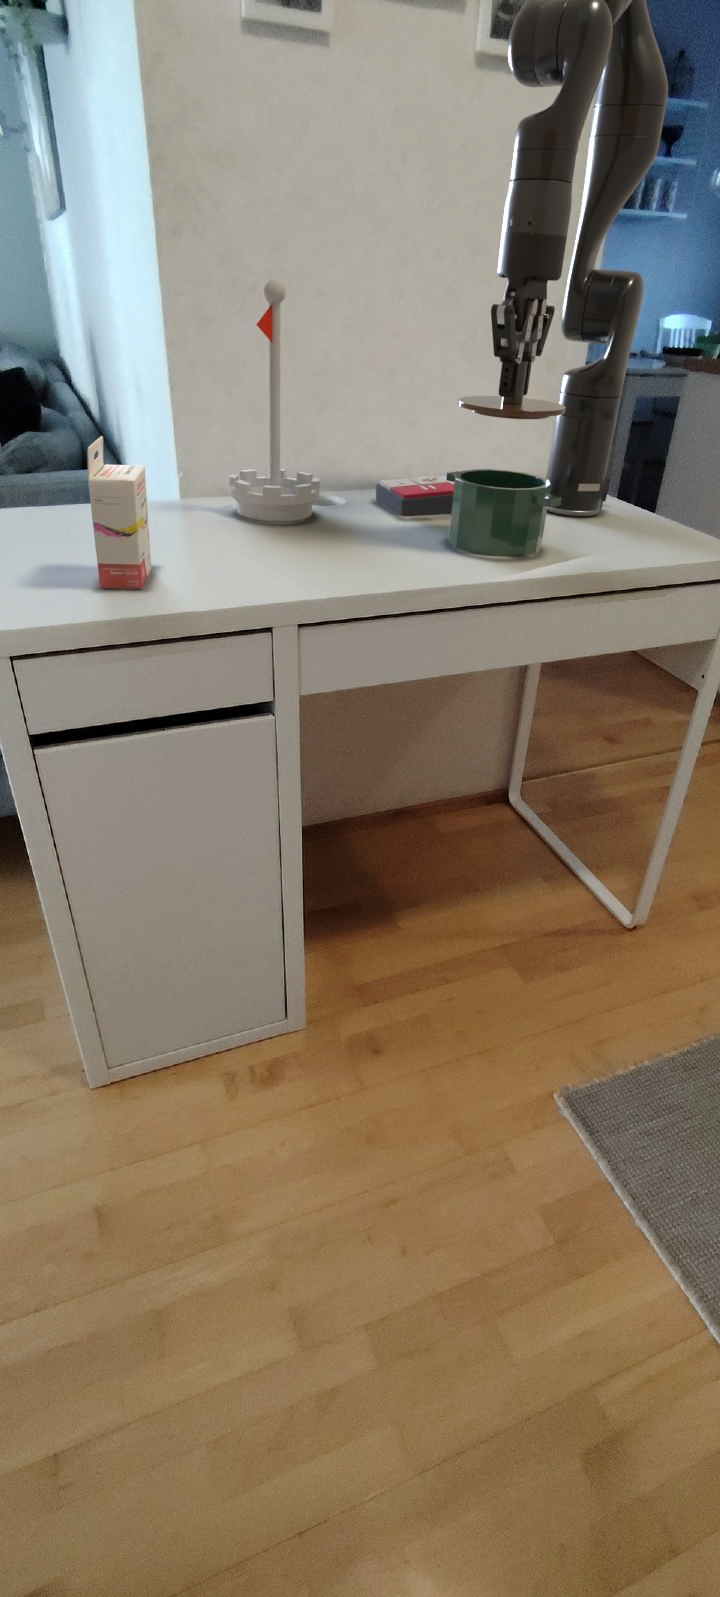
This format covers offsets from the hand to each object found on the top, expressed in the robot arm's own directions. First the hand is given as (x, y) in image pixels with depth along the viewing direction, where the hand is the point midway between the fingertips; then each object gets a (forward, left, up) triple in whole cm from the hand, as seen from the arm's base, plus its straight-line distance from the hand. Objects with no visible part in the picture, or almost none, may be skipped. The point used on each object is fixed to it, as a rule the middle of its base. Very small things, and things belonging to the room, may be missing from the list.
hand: (512, 395), depth 106 cm
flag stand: (+16, -29, -19) cm, 38 cm away
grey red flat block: (-8, -20, -19) cm, 29 cm away
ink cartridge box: (+48, -14, -19) cm, 54 cm away
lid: (0, 0, -1) cm, 1 cm away
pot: (0, 0, -19) cm, 19 cm away
